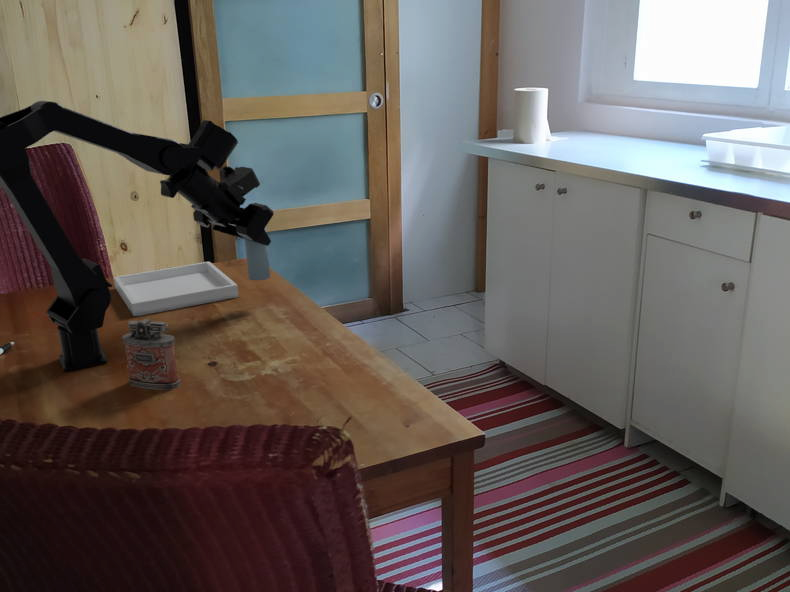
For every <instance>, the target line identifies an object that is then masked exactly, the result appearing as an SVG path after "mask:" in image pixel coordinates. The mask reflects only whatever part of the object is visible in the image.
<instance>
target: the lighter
mask: <svg viewBox="0 0 790 592" xmlns="http://www.w3.org/2000/svg"><path fill="white" fill-rule="evenodd" d="M127 326H128V329H129V331H130V332H127V333H126V334H124V335H122V337H121V338H122V342H123V343H124V347H125V354H126V360H127V366H128V367H127V369H128V374H129V377H128V382H129V385H130V386H132V387H136V388H140V389H148V390H157V391H160V390H161V391H172V390H174V389H178V388H179V387H180V386H181V381H180V377H179V374H178V367H177V366H178V365H177V359H176V353H175V336H173V335H170V334H166V333H167V332H168V331H169V326H168V323H166V322H165V321H154V320H153V321H151V320H150V318H143V319H142V320H130V321H128V325H127ZM164 333H165V334H164Z"/></svg>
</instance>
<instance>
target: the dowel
mask: <svg viewBox="0 0 790 592" xmlns="http://www.w3.org/2000/svg"><path fill="white" fill-rule="evenodd" d="M265 231H266V232H267V226H266V227H265ZM244 245H245V246H244V247H245V255H246V264H247V266H246V267H247V277H248V280H250V281H263V280H265V281H266V280H268V279H270V277H271V270H270V258H269V248H268V247H269V245H268V246H267V245H263V244H260V243H257V242H253V241H250V240H246V239H244Z"/></svg>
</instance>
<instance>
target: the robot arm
mask: <svg viewBox="0 0 790 592" xmlns="http://www.w3.org/2000/svg"><path fill="white" fill-rule="evenodd" d="M52 132H55V133H58V134H61V135H63V136H67V137H70V138H72V139H75V140H79V141H81V142H83V143H87V144H90V145H93V146H96V147H99V148H102V149H104V150H107V151H110V152H113V153H115V154H117V155H119V156H121V157H122V158H125V159H126V160H128V161H129V162H130V163H132V164H133V165H135V166H137V167H139V168H141V169H142V170H144V171H146V172H149V173H155V174H159V175H163V176H168V178H166V179H162V180H160V181H159V184H160V195H161V196H163V197H166V198H171V199H173V198H175V196H176V195H177V194H179V195H181V197H183V198H184V199H185V200H186V201H188V202H189V203H190V204H191V206H190V207H191V208H192V209H193V210H194V212H193V213H192V214H193V221H195V222H196V223H197V224H198V225H199V226H201V227H205V228H207V229H208V228H209V227H210V226H211V225H210V224H213V226H212V231H216V232H219V233H222V234H226V235H229V236H232V237H235V238H236V237H237V238H238V239H239V238H240V239H243V240H245V239H246V240H250V241H253V242H257V243H260V244H263V245H267V246H268V247H269V246H270V244H271V243H272V240H271V238H270V237H269V235H268V233H267V230H266V231H265V227H266V228H267V226H268V224H269V222H270V220H271V219H272V218H273V216H274V211H273V210H272V209H271V208H270V207H269V206H268V205H267V204H262V203H258V202H254V203H248V204H247V206H245V208H244V207H241V206H243V205H244V204H245V202H246V201H247V199H246V198H245V197H244V196H246V195H248V193H250V192H251V191H253V190H254V189H257V188H258V187H260V186H261V182H260V180H259V178H258V176H257V175H256V173H255V171H254V169H253V168H251V167H247V166H239V167H237V166H236V167H234V168H233V167H231V166H227V165H225V163H226V162H227V160H228V159H229V157H230V155H231V154H232V153H233V151H234V150H235V148H236V146H237V145H238V144H239V141H238V139H237V137H236V136H235V135H233V133H231V132H230V131H227V130H226V129H225V128H223V127H221V126H219V125H218V124H215V123H214V122H213V121H212V120H209V119H204V120H202V122H201V124H200V125H199V127H198V130H197V131H196V132H195V134H194V135H193V137H192V139H191V140H190V141H189V143H181V142H179V141H177V140H175V139H170V138H166V137H165V138H164V137H158V136H154V135H147V134H141V133H135V132H131V131H128V130H125V129H123V128H121V127H118V126H115V125H112V124H109V123H108V122H104V121H102V120H99V119H96V118H94V117H91V116H88V115H86V114H83V113H80V112H78V111H75V110H72V109H71V108H70V109H69V108H67V107H64V106H62V105H61V104H59V103H58V102H56V101H47V100H39V101H35V102H34V103H32V105H29V106H26V107H24V108H22V109H19V110H17V111H13V112H11V113H8V114H6V115H5V114H4V115H2V116H0V187H1V188H2V189H3V191H4V193H5V195H6V196H7V198H8V199H9V202H10V203H11V204H12V206H13V208H14V209H15V211H16V213H17V214H18V216H19V217H20V219H21V221H22V222H23V224H24V225H25V227H26V228H27V230H28V232H29V233H30V236H31V237H32V239H33V240H34V242H35V243H36V245H37V247H38V249H39V250H40V252H41V253H42V255H43V257H44V258H45V260H46V261H47V262H48V264H49V267H50V269H51V276H52V282H53V285H54V288H55V290H56V292H57V296H56V297H55V299H54V300H53V302H52V303H51V304H50V306H48V308H47V310H46V311H45V313H46V314H47V317H48V318H49V319H50V322H51V323H53V324H56V325H57V332H58V338H59V342H60V343H59V344H60V348H61V353H62V354H60V355H58V357H59V361H60V365H61V366H62V369H63V371H64V372H69V371H74V370H78V369H83V368H87V367H88V368H89V367H93V366H98V365H101V364H103V365H104V364H107V363H108V358H107V356H106V353H105V352H104V350H103V348H102V347H101V341H100V335H99V331H98V330H99V329H100V328H103V326H104V321H105V317H106V311H107V310H108V308H109V307H110V304H111V301H112V299H113V296H112V293H111V289H110V288H112V287H113V284H111V283H110V282H109V281H108V280H107V279H106V276H105V275H104V272H103V269H102V267H101V265H100V264H99V263H96V262H94V261H91V260H89V259H86V258H85V257H84V258H81V257H80V256H79V254H78V252H77V251H76V249H75V247H74V246H73V243H72V242H71V240H70V239H69V237H68V236H67V234H66V232H65V230H64V229H63V227H62V226H61V225H62V224H61V223H60V222H59V220H58V219H57V217H56V215H55V213H54V211H53V210H52V208H51V206H50V205H49V203H48V201H47V199H46V198H45V196H44V194H43V193H42V191H41V189H40V187H39V186H38V184H37V182H36V180H35V179H34V177H33V176H34V175H33V174H32V168H31V161H30V156H29V154H28V151H27V149H26V148H29V147H30V146H32V145H35V144H36V143H39V141H40V140H42V139H43V138H45V137H46V136H47V135H49V134H51V133H52ZM214 169H215V170H217V171H219V174H218V175H219V181H217V180H216V179H215V178H214V177H212V176H211V175H210V174H209V173H208V172H213V170H214ZM206 171H208V172H206Z"/></svg>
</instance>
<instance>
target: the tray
mask: <svg viewBox="0 0 790 592" xmlns="http://www.w3.org/2000/svg"><path fill="white" fill-rule="evenodd" d="M113 282H114V288H115V290H116V292H117V294H118V295H119V296H120V297H121V299H122V300H123V302H124V303H125V306H126V307H127V309H128V310H129V311H130V313H131V314H132V316H133V318H134V317H139V316H145V315H151V314H155V313H156V314H157V313H162V312H167V311H171V310H177V309H183V308H188V307H192V306H200V305H204V304H209V303H215V302H220V301H225V300H229V299H236V298H239V297H240V296H239V286H238V284H237V283H235V282H234V280H232V279H231V278H230V277H228V276H227V275H226V274H225V272H222V270H220V268H218V267H217V266H215V265H214V264H213V263H212V262H211V261H203V262H198V263H191V264H185V265H180V266H174V267H167V268H161V269H155V270H148V271H143V272H137V273H132V274H131V273H129V274H124V275H118V276H114V277H113Z"/></svg>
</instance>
